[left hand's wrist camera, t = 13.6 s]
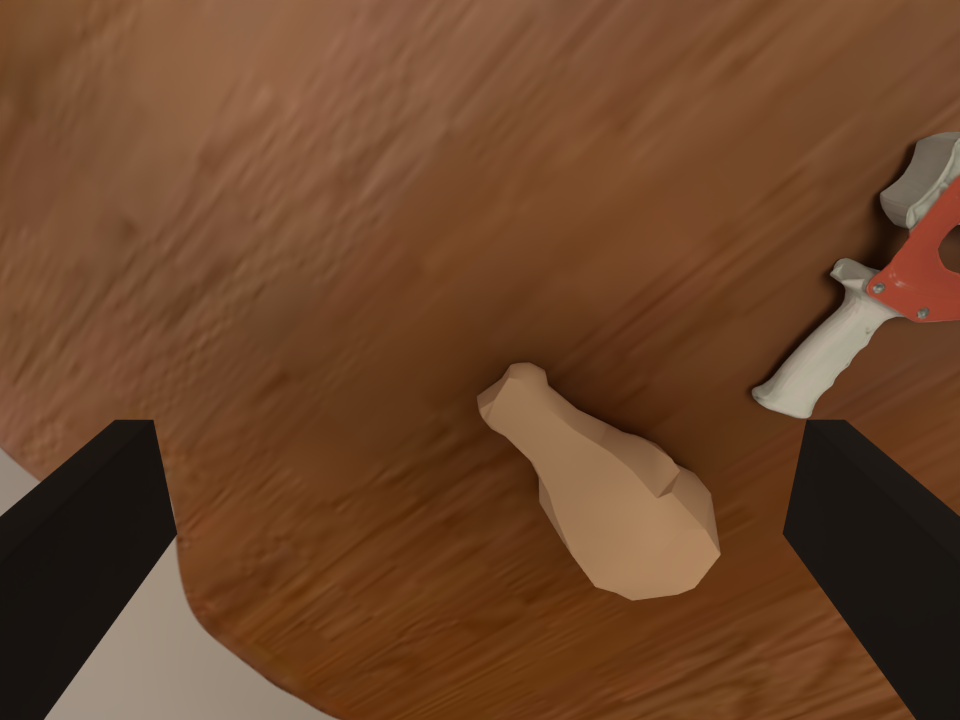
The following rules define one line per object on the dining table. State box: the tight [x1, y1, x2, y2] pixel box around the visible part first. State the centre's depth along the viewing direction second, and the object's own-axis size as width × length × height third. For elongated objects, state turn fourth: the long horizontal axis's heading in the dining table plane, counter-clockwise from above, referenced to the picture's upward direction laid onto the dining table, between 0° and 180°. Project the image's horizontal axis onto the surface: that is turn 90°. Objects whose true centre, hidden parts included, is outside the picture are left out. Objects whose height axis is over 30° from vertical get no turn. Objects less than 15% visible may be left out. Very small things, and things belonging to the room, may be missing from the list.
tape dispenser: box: [752, 132, 960, 418], centre depth 41 cm, size 18×5×20 cm
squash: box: [477, 362, 720, 600], centre depth 44 cm, size 11×20×9 cm, turn 48°
